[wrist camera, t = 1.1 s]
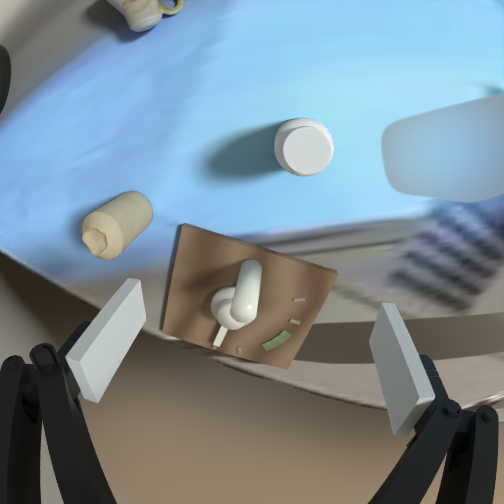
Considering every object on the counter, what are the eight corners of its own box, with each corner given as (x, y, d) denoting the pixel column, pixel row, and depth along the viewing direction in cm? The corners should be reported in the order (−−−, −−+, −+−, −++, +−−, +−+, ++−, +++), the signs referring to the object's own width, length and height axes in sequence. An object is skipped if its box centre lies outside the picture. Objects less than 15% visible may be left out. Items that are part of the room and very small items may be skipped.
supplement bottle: (319, 168, 33) (334, 188, 24) (271, 161, 33) (268, 179, 24) (326, 121, 31) (344, 124, 22) (277, 114, 31) (276, 113, 22)
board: (164, 328, 45) (161, 333, 44) (184, 223, 37) (181, 226, 36) (287, 365, 46) (287, 370, 45) (336, 271, 38) (338, 275, 37)
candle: (150, 235, 38) (115, 272, 29) (114, 225, 38) (73, 257, 29) (156, 195, 36) (118, 224, 27) (118, 186, 36) (73, 211, 27)
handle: (232, 250, 37) (218, 291, 29) (278, 268, 37) (277, 313, 29) (197, 334, 43) (181, 380, 35) (236, 349, 44) (227, 396, 35)
